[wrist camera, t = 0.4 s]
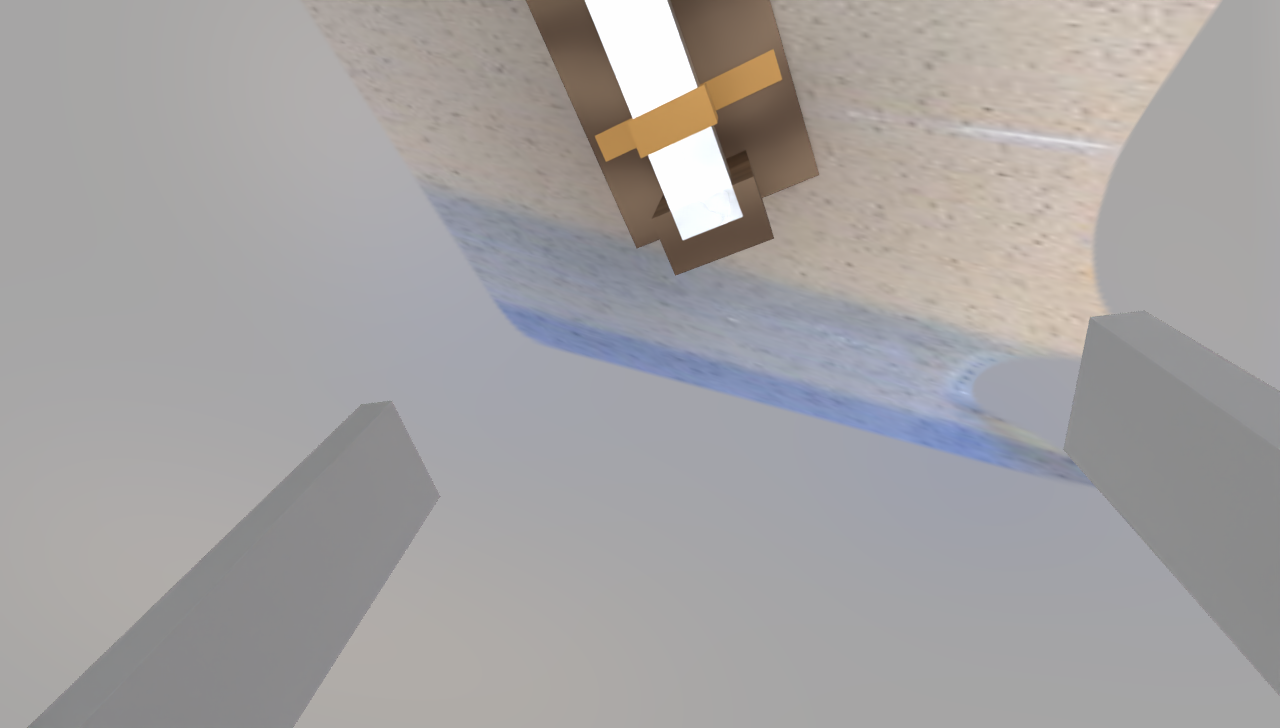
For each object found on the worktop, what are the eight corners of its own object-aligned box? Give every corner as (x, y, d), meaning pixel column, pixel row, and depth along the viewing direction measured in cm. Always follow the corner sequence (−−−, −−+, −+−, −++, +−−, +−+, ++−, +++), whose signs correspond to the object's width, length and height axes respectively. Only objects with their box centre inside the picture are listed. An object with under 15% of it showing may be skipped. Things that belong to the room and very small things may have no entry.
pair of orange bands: (595, 135, 32) (553, 157, 24) (773, 48, 29) (792, 41, 21) (606, 161, 33) (569, 191, 25) (782, 79, 30) (804, 83, 22)
